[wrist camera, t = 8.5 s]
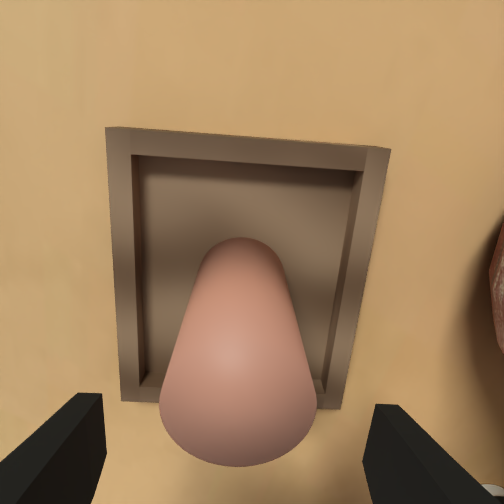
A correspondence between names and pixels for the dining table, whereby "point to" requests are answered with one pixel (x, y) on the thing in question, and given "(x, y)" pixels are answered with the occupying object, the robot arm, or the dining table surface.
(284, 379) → the dowel
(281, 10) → the dining table surface
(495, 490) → the dixie cup
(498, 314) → the pottery
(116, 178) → the tray
